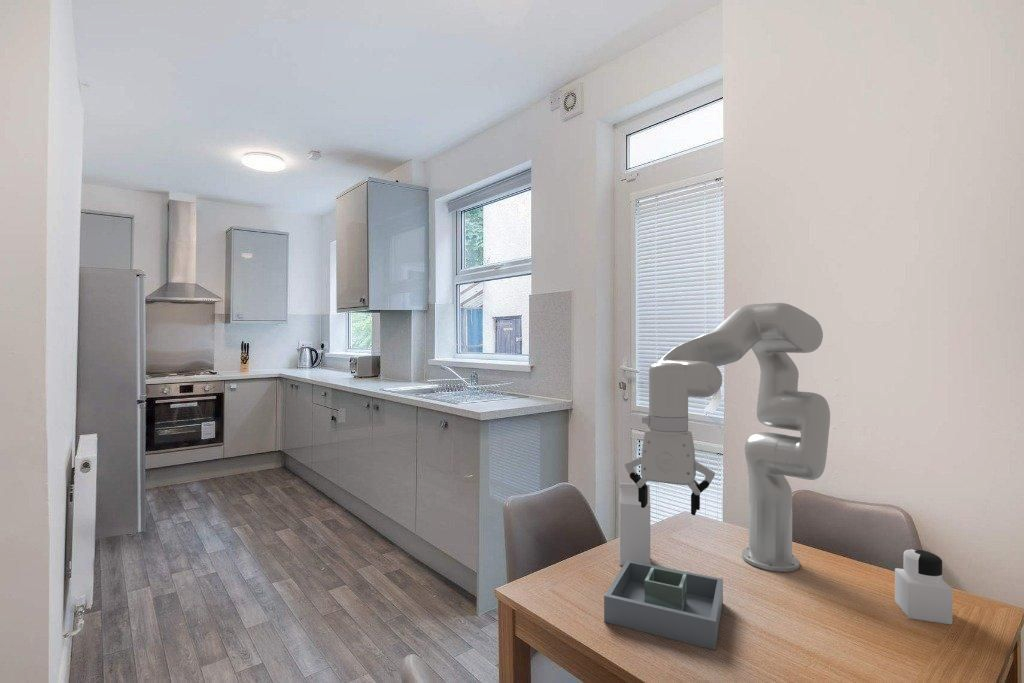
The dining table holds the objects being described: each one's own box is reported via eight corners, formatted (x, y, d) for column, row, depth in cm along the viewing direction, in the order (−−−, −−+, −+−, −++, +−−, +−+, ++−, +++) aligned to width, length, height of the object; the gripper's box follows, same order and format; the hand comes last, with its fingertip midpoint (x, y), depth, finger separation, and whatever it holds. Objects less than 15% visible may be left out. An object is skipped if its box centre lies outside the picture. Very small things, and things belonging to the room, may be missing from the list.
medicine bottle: (935, 607, 103) (935, 548, 103) (953, 625, 97) (953, 562, 97) (894, 601, 106) (894, 544, 106) (908, 618, 99) (908, 557, 99)
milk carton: (650, 568, 120) (650, 488, 121) (619, 565, 122) (620, 487, 122) (648, 556, 127) (648, 480, 127) (619, 553, 129) (619, 479, 129)
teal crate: (651, 595, 106) (651, 566, 106) (686, 603, 102) (686, 573, 103) (644, 611, 99) (644, 580, 99) (681, 620, 96) (681, 588, 96)
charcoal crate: (626, 582, 113) (626, 560, 113) (722, 603, 105) (723, 578, 105) (604, 621, 97) (604, 595, 97) (715, 650, 88) (715, 621, 88)
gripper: (620, 424, 102) (621, 508, 102) (712, 430, 94) (713, 522, 94) (629, 418, 109) (629, 498, 109) (716, 424, 101) (716, 510, 101)
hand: (668, 509), depth 101 cm, fingers open, 9 cm apart
